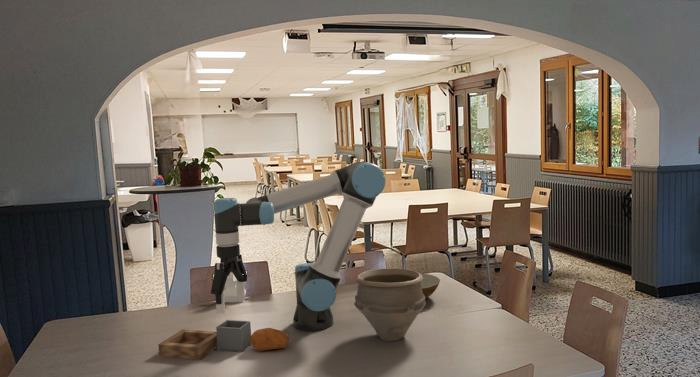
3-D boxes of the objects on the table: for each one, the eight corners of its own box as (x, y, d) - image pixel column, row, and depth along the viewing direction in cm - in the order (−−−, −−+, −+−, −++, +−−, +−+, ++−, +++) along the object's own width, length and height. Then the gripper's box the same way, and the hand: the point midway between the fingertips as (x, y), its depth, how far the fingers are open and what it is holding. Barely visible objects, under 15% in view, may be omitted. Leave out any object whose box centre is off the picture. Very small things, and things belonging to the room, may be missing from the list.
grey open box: (251, 343, 177) (250, 321, 177) (242, 352, 171) (240, 328, 170) (228, 342, 180) (226, 319, 179) (217, 350, 173) (216, 327, 172)
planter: (344, 346, 172) (341, 281, 170) (367, 320, 195) (364, 263, 192) (418, 353, 163) (415, 285, 161) (433, 326, 186) (431, 266, 184)
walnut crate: (221, 343, 179) (221, 332, 179) (200, 359, 166) (199, 347, 166) (183, 340, 184) (182, 329, 183) (159, 356, 171) (158, 344, 170)
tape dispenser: (221, 297, 233) (219, 267, 232) (251, 297, 232) (249, 267, 230) (214, 303, 225) (212, 272, 224) (245, 303, 223) (243, 272, 222)
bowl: (445, 307, 206) (444, 287, 206) (382, 309, 207) (381, 290, 206) (435, 289, 231) (435, 271, 231) (379, 291, 232) (379, 273, 231)
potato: (254, 345, 176) (253, 325, 176) (291, 344, 175) (290, 324, 175) (248, 354, 169) (247, 332, 168) (287, 353, 168) (286, 332, 167)
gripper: (236, 237, 185) (239, 295, 187) (196, 252, 161) (201, 318, 163) (255, 237, 183) (258, 296, 185) (218, 252, 159) (222, 319, 161)
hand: (231, 306), depth 174 cm, fingers open, 13 cm apart
